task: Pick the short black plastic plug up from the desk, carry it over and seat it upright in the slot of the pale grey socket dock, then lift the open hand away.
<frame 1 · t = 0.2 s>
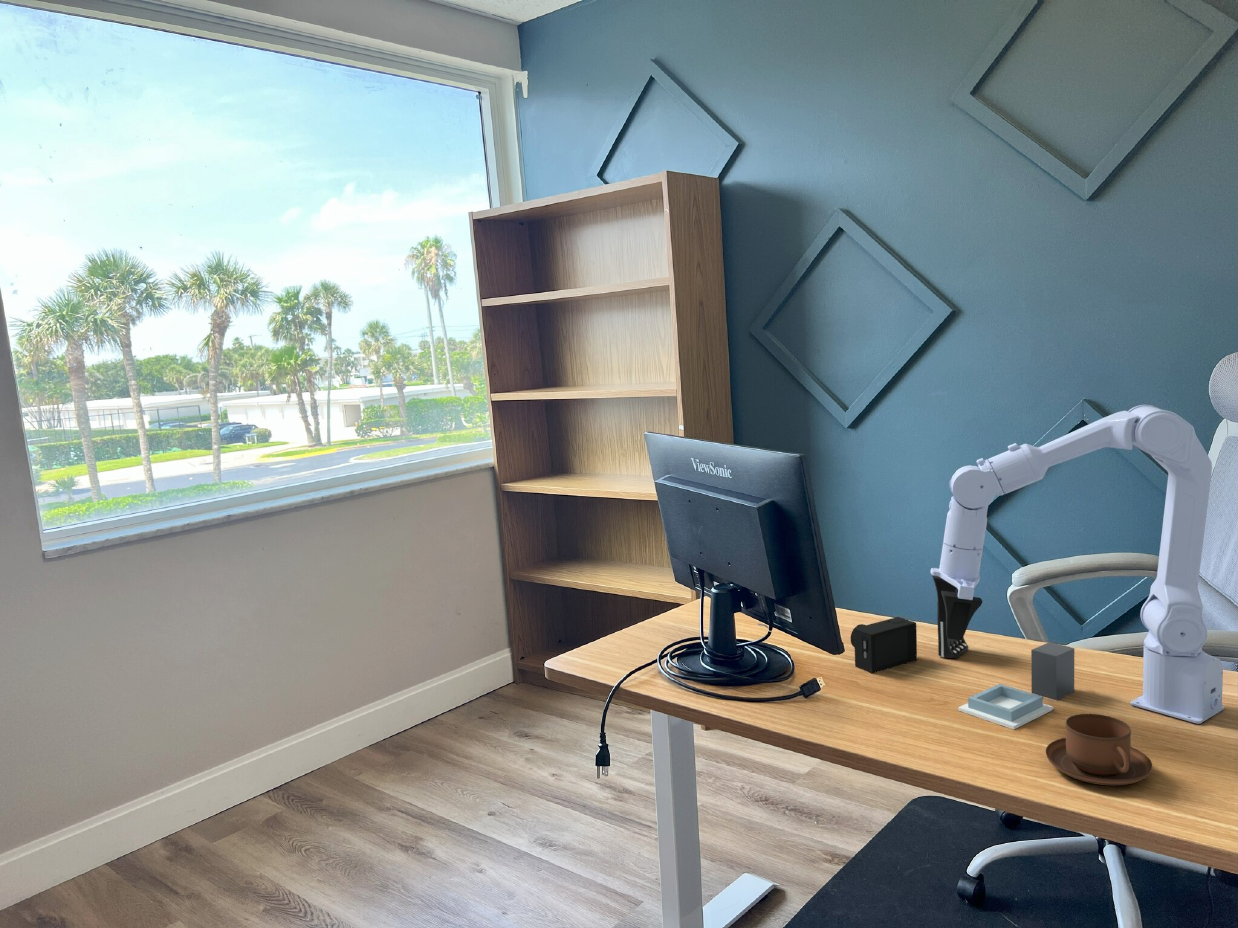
hand: (950, 630, 140), 11 cm above the table, tool pointing down, fingers open, 7 cm apart
plug: (1052, 692, 141), on the table
socket dock: (1005, 709, 135), on the table
digital camera: (883, 663, 158), on the table
cup and saucer: (1097, 772, 116), on the table
battery charger: (956, 654, 159), on the table
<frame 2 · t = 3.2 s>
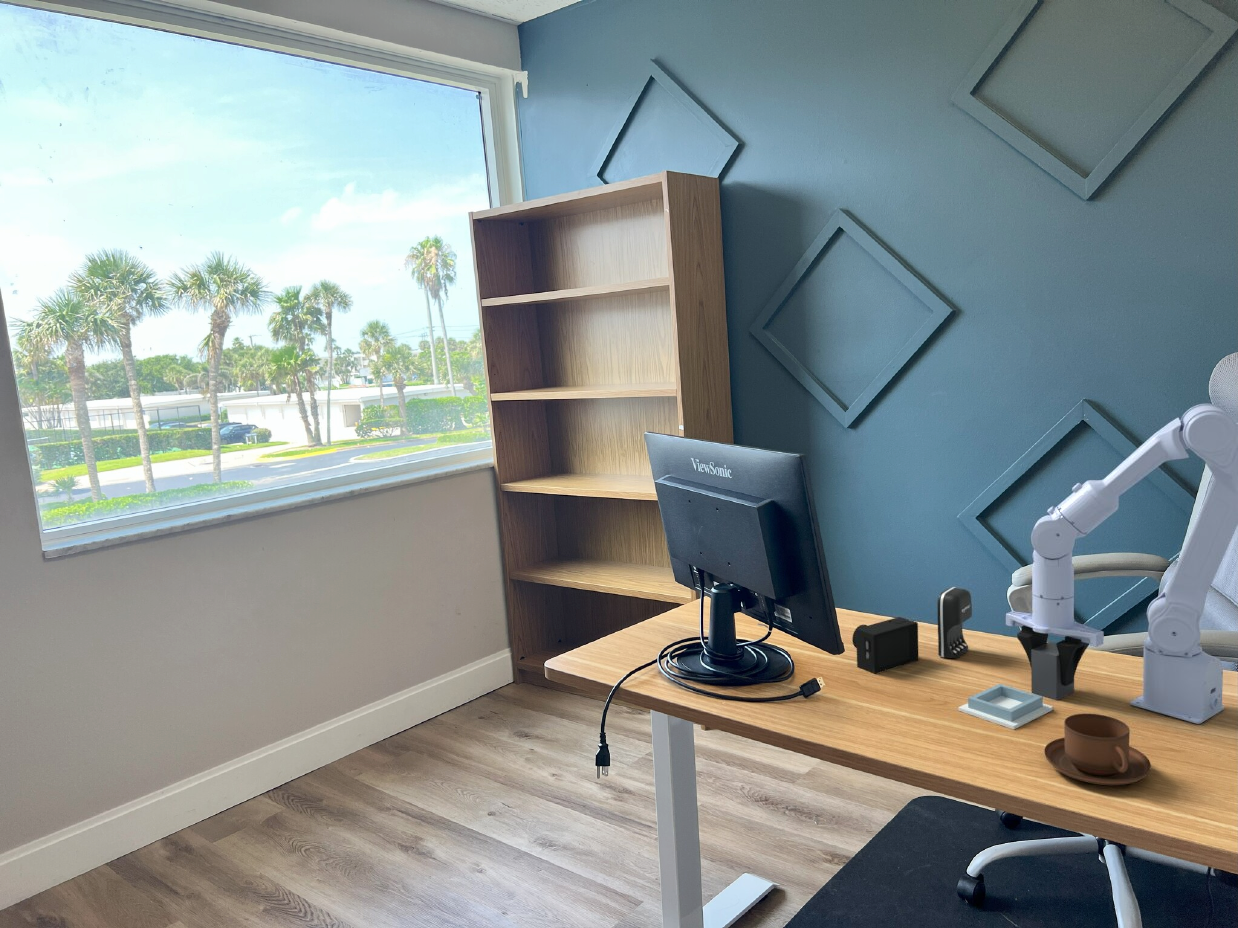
hand: (1052, 679, 140), 2 cm above the table, tool pointing down, fingers closed on plug, 4 cm apart
plug: (1052, 692, 141), on the table, touching gripper
everything else where it was.
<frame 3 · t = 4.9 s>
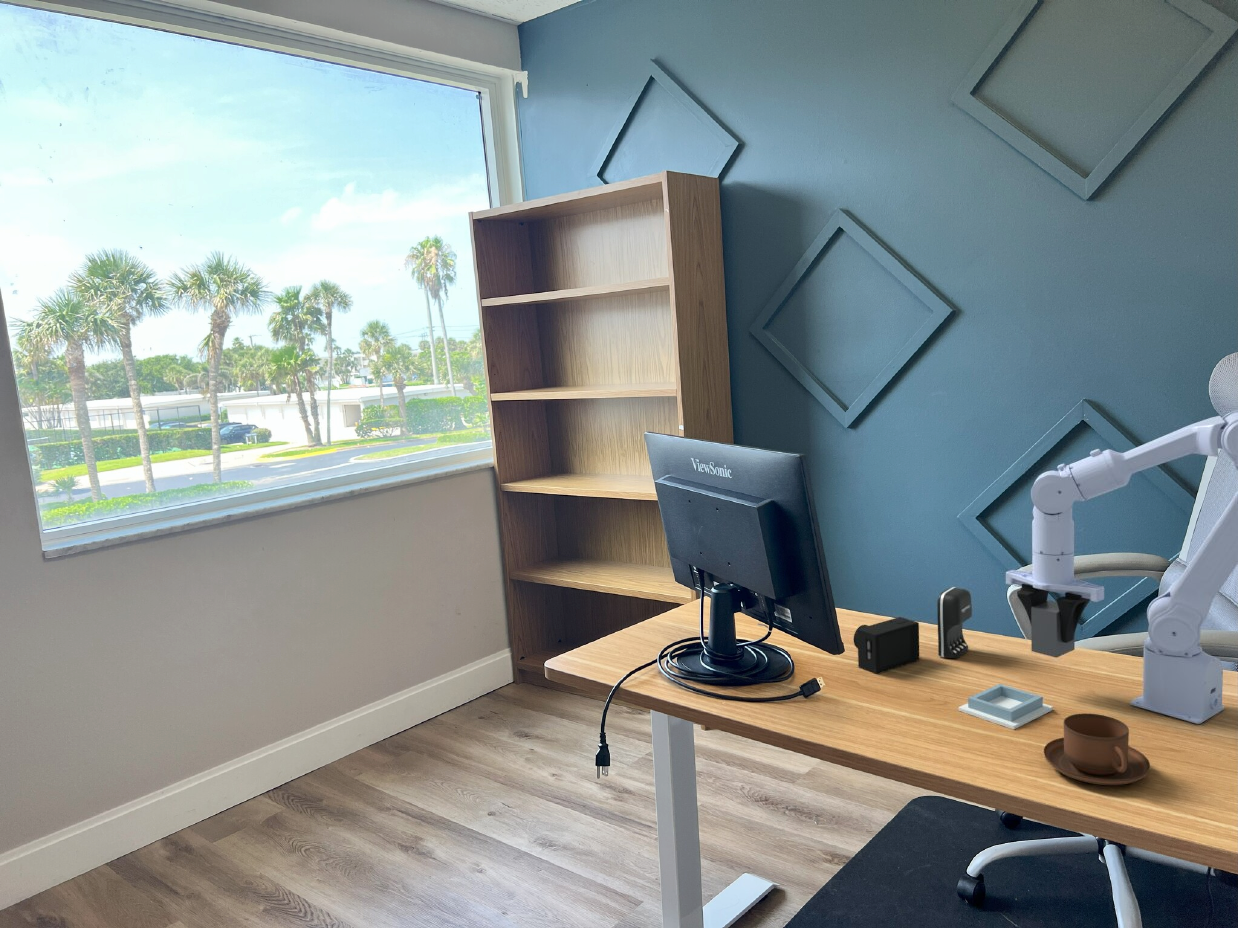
hand: (1053, 637, 139), 9 cm above the table, tool pointing down, fingers closed on plug, 4 cm apart
plug: (1052, 650, 140), point 7 cm above the table, touching gripper
everything else where it was.
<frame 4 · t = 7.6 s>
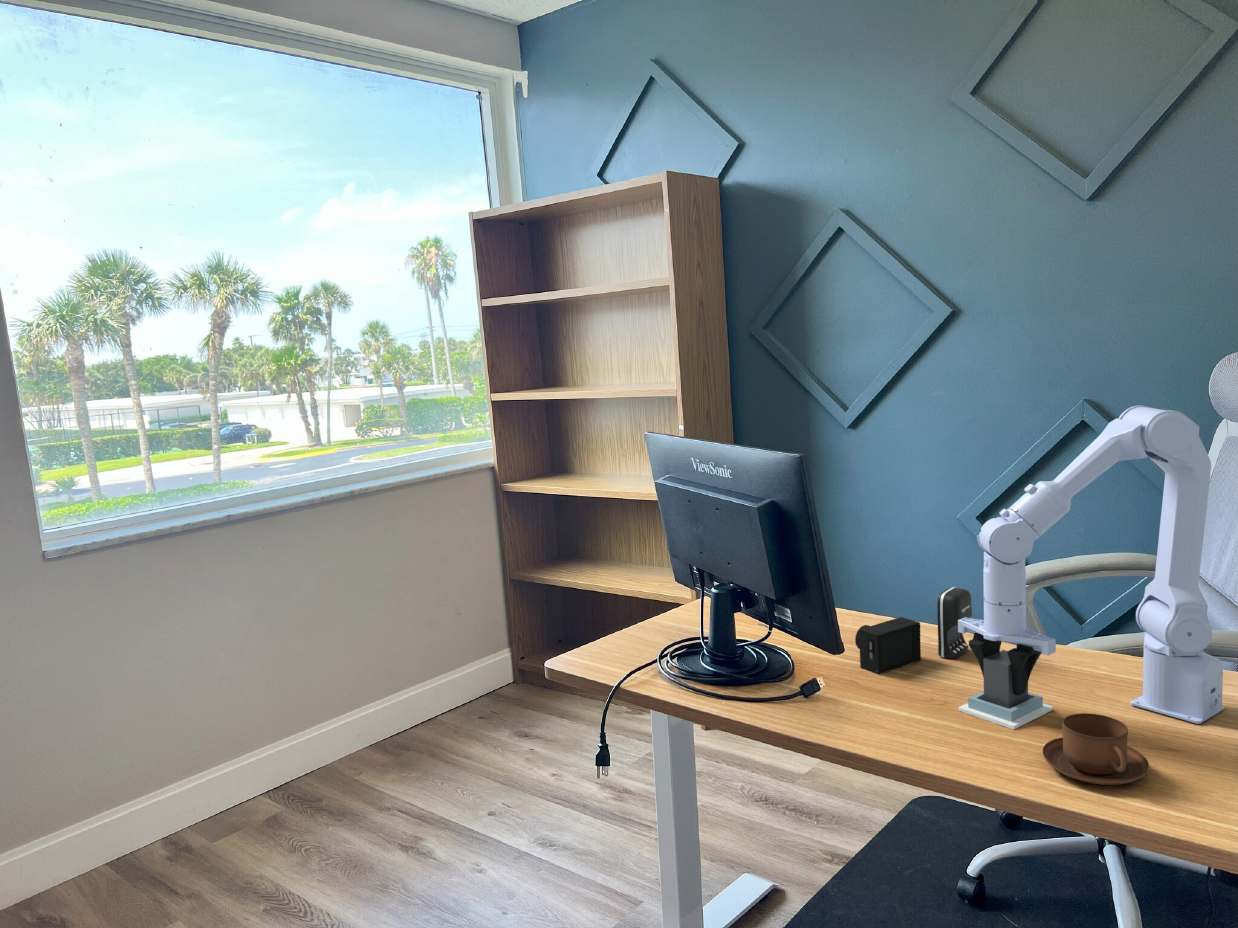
hand: (1005, 688, 135), 3 cm above the table, tool pointing down, fingers closed on plug, 4 cm apart
plug: (1006, 702, 135), point 1 cm above the table, touching gripper
everything else where it was.
when the fingers open (3 cm above the table, at t = 8.2 s): plug stays where it is, resting on socket dock.
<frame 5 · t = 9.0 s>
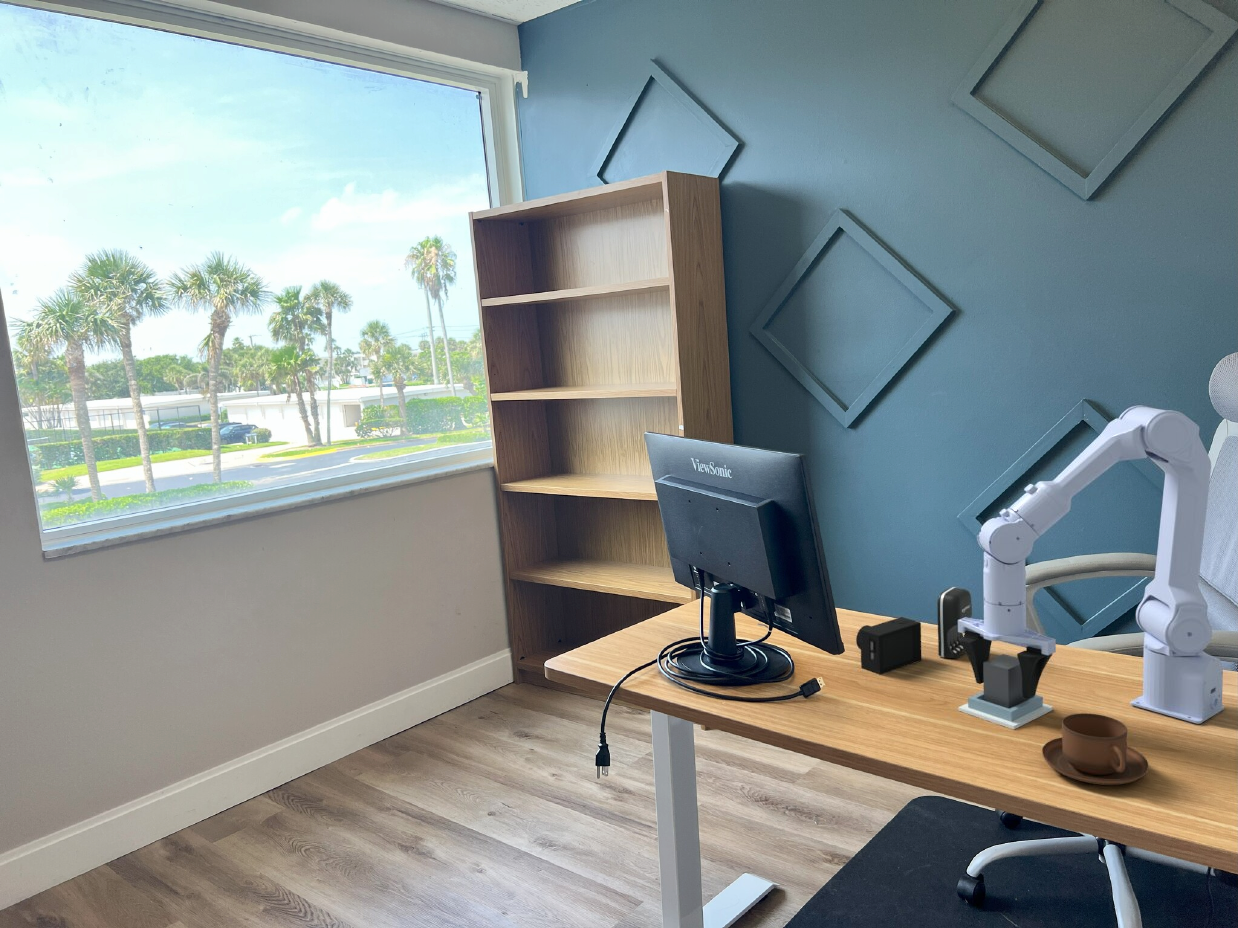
hand: (1005, 688, 135), 3 cm above the table, tool pointing down, fingers open, 7 cm apart
plug: (1005, 706, 135), resting on socket dock
everything else where it was.
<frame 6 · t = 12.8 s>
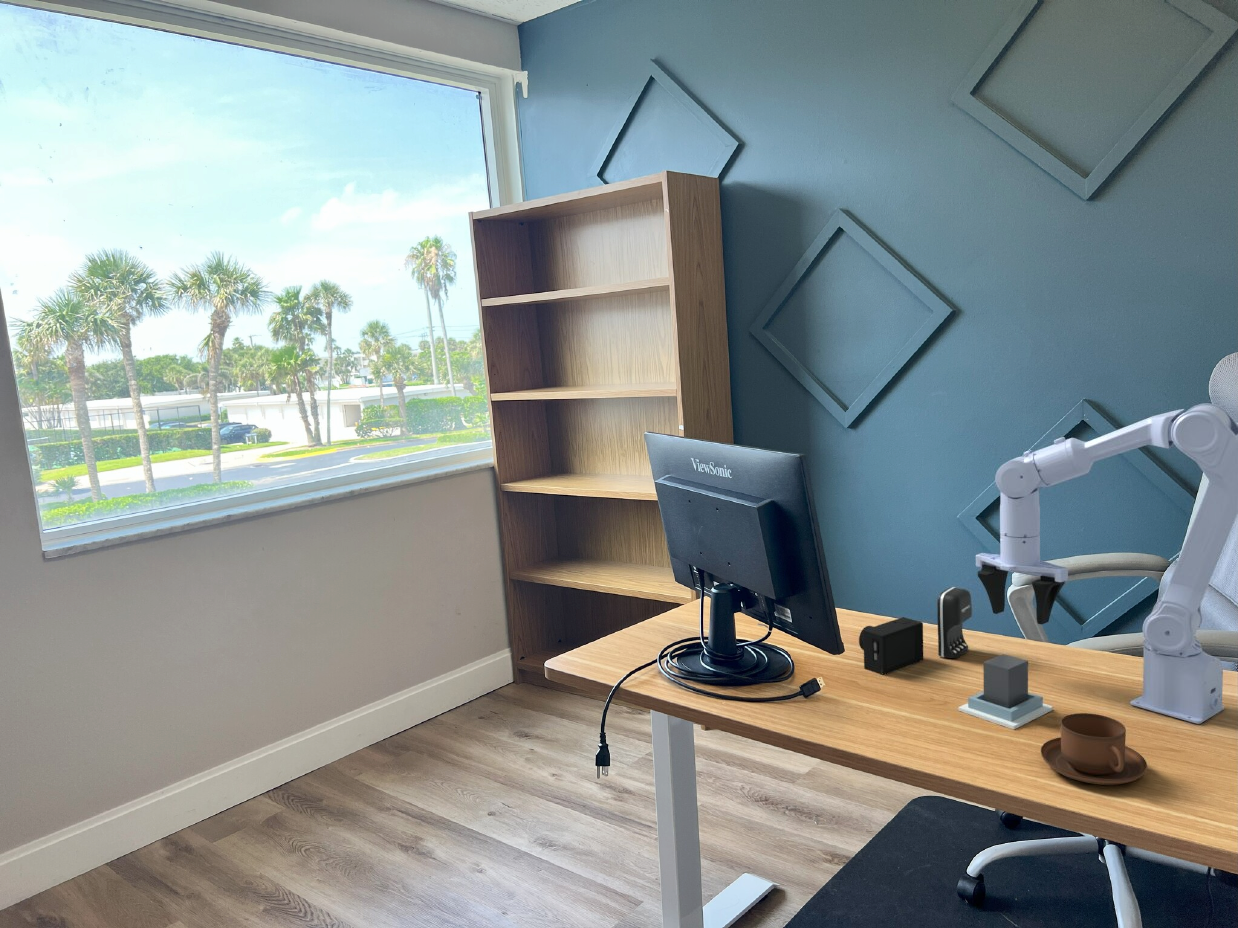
hand: (1020, 617, 145), 10 cm above the table, tool pointing down, fingers open, 7 cm apart
at the end: plug 0.2 cm off-centre on the socket dock, point 0.5 cm above the socket dock's base; plug tilted 0°; the gripper is holding nothing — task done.
